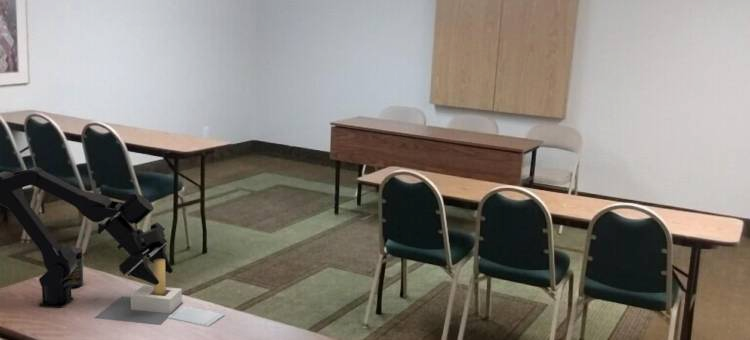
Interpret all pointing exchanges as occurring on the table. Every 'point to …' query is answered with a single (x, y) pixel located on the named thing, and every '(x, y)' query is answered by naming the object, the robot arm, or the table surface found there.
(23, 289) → the table surface
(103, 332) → the table surface
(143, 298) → the hole block
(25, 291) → the table surface
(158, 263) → the peg
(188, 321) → the hard drive
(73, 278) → the supplement container
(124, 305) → the mat
